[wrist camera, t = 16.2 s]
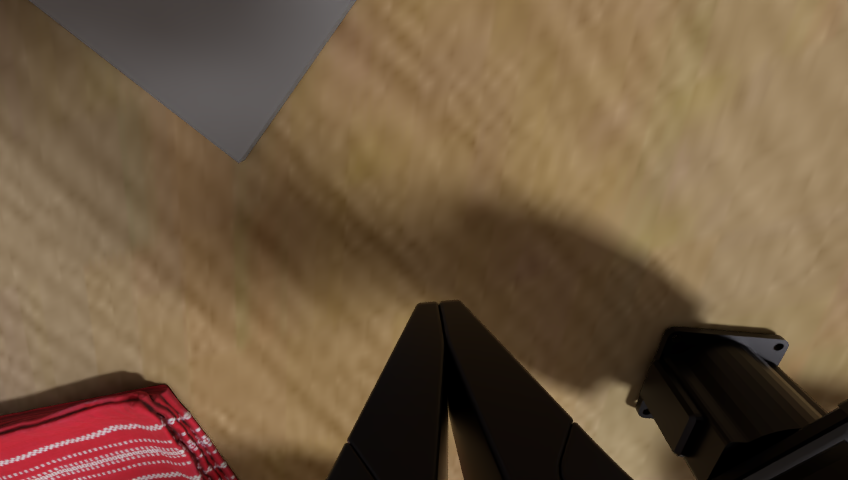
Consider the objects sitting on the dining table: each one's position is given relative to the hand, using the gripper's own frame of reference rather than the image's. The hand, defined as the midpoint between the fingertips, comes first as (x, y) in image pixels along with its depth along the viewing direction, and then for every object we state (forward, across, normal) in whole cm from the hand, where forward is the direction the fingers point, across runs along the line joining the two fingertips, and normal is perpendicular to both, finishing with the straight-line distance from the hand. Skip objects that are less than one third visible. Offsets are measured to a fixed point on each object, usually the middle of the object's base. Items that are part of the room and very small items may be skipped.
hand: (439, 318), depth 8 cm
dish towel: (+13, +22, +27) cm, 38 cm away
